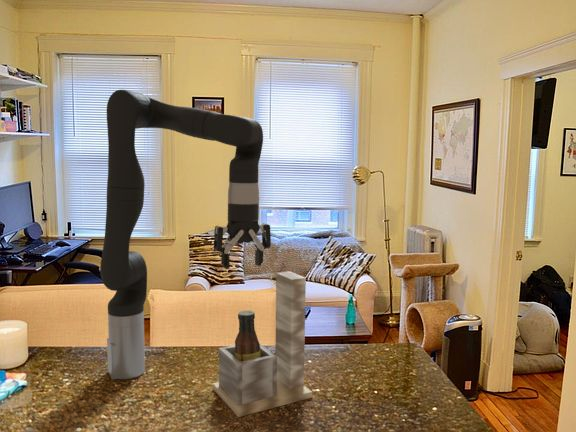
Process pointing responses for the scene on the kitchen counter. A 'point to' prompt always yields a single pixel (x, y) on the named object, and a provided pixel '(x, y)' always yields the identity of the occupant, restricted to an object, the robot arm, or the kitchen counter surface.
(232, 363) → the grey holder stand
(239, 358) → the sauce bottle
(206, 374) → the kitchen counter surface
